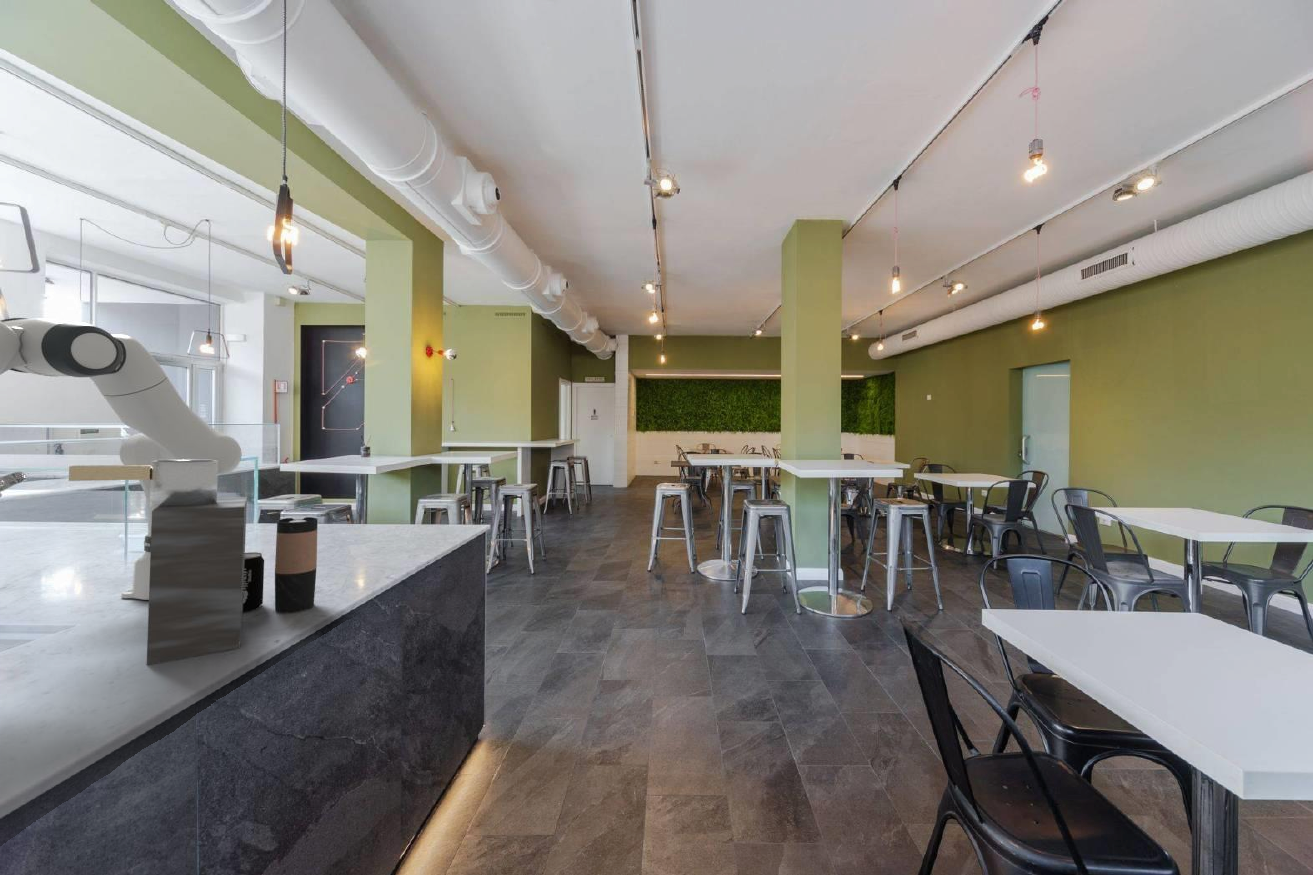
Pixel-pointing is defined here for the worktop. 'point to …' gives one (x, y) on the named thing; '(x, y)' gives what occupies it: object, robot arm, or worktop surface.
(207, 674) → the worktop surface
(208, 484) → the milk pan
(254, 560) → the beverage can
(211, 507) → the stand
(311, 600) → the travel mug
